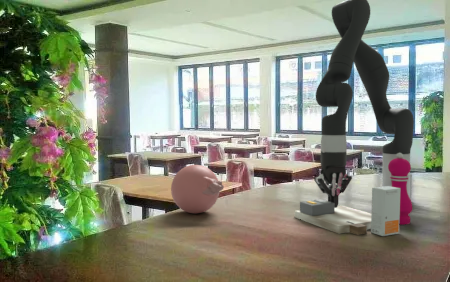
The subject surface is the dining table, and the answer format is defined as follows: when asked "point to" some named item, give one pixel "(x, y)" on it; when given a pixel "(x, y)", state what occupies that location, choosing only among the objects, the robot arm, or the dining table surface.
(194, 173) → the balloon
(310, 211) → the block
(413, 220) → the dining table surface
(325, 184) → the robot arm
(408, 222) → the pepper mill
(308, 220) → the board
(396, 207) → the skincare box
